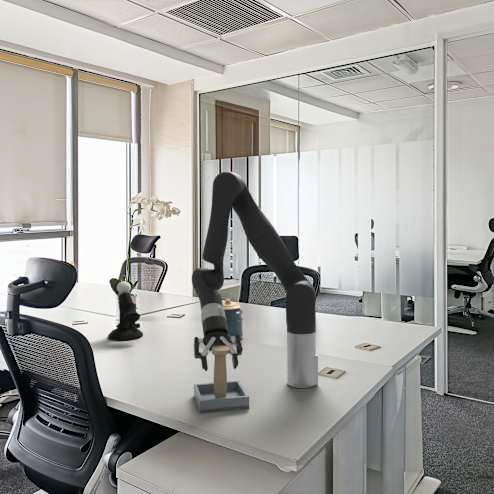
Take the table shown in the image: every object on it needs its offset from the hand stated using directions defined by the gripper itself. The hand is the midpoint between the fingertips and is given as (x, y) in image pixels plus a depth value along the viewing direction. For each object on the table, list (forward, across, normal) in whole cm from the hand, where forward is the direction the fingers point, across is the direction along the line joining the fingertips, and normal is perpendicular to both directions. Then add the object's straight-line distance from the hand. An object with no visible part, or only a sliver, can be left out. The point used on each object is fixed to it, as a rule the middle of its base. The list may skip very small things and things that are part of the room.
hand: (220, 368), depth 148 cm
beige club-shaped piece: (+6, 0, +8) cm, 10 cm away
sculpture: (-53, -27, +68) cm, 90 cm away
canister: (-45, +16, +60) cm, 77 cm away
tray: (+6, 0, +8) cm, 10 cm away
